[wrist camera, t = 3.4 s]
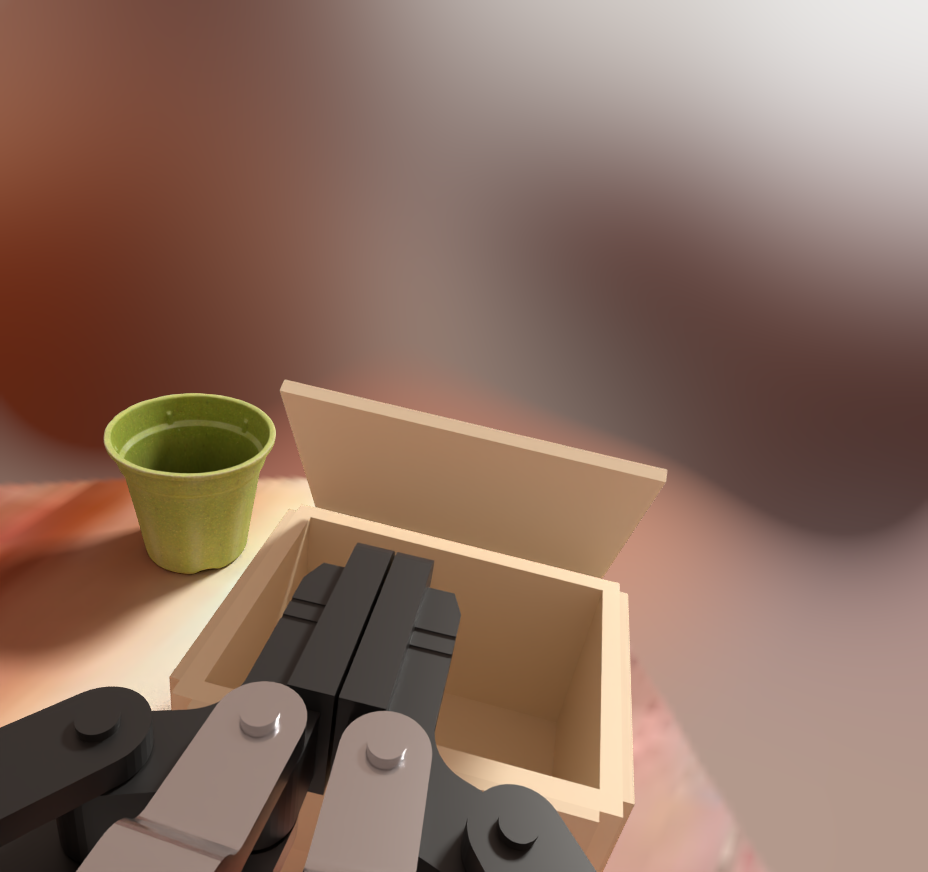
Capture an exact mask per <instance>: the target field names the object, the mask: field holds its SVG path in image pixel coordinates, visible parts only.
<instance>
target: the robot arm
mask: <svg viewBox="0 0 928 872" xmlns="http://www.w3.org/2000/svg"><path fill="white" fill-rule="evenodd" d="M433 568H434V560H430V559H426V558H422V557H417V556H413V555H409V554H405V553H400V552H397V553H396V555H395V551H392V550H388V549H384V548H380V547H375V546H371V545H367V544H362V543H357V544H356V546H355V547H354V549H353V551H352V553H351V555H350V557H349V560H348V562H347V564H346V566H345V567H341V566H337V565H332V564H328V563H322V564H321V565H320V566H318V567H317V568H315V569H314V570H313V571H311V572H310V573H309V574H307V575H306V576H304V577H303V579H302V581H301V582H300V584H299V586H298V588H297V589H296V591H295V593H294V595H293V597H292V600H291V601H290V602H289V604H288V605H287V607H286V609H285V611H284V612H283V616H282V618H280V620H279V621H278V623H277V625H276V627H275V628H274V630H273V632H272V634H271V636H270V637H269V639H268V641H267V643H266V644H265V646H264V648H263V650H262V651H261V653H260V655H259V657H258V659H257V660H256V662H255V664H254V666H253V667H252V669H251V671H250V673H249V674H248V676H247V678H246V679H245V681H244V682H243V684H242V685H241V686H240V687H238V688H236V689H234V690H232V691H231V692H229V693H228V694H227V695H225V696H224V697H223V698H222V699H221V700H220V701H219V702H217V703H215V704H212V705H209V706H206V707H201V708H197V709H188V710H165V711H151V708H150V706H149V703H148V702H147V701H146V699H145V698H144V697H143V696H142V695H140V694H139V693H137V692H135V691H133V690H131V689H127V688H123V687H101V688H96V689H92V690H89V691H86V692H83V693H80V694H78V695H76V696H73V697H71V698H69V699H66V700H64V701H62V702H59V703H57V704H55V705H52V706H50V707H48V708H45V709H43V710H41V711H38V712H36V713H34V714H31V715H29V716H27V717H24V718H22V719H20V720H17V721H15V722H13V723H10V724H8V725H6V726H3V727H1V728H0V872H280V871H281V869H282V867H283V865H284V863H285V861H286V859H287V856H288V854H289V852H290V850H291V848H292V846H293V844H294V841H295V838H296V835H297V829H298V818H299V812H300V809H301V807H302V804H303V802H304V799H305V797H306V794H307V792H311V793H315V794H319V795H324V792H325V789H326V787H327V789H326V792H325V796H324V799H323V803H322V807H321V810H320V814H319V817H318V821H317V825H316V828H315V832H314V835H313V839H312V843H311V846H310V850H309V853H308V857H307V860H306V864H305V867H304V869H303V872H597V871H596V870H595V868H594V867H593V865H592V864H591V862H590V861H589V859H588V858H587V856H586V855H585V853H584V852H583V850H582V849H581V847H580V846H579V844H578V843H577V841H576V839H575V838H574V836H573V835H572V833H571V832H570V830H569V829H568V827H567V826H566V824H565V823H564V821H563V820H562V818H561V817H560V815H559V814H558V812H557V811H556V809H555V808H554V807H553V805H552V804H551V803H550V802H549V801H548V800H547V799H546V798H544V797H543V796H542V795H540V794H539V793H537V792H535V791H534V790H532V789H530V788H527V787H524V786H520V785H515V784H503V785H497V786H494V787H491V788H489V789H487V790H485V791H484V792H483V791H481V790H479V789H478V788H476V787H474V786H473V785H471V784H470V783H468V782H466V781H465V780H463V779H462V778H460V777H459V776H457V775H456V774H455V773H454V772H453V771H452V770H451V769H450V768H449V767H448V766H447V765H446V763H445V762H444V761H443V759H442V757H441V756H440V754H439V751H438V749H437V746H436V742H435V729H436V725H437V721H438V716H439V712H440V708H441V703H442V699H443V695H444V690H445V686H446V682H447V678H448V673H449V669H450V664H451V659H452V655H453V650H454V646H455V641H456V636H457V632H458V627H459V623H460V618H461V613H460V610H459V606H458V603H457V600H456V596H455V594H454V593H450V592H446V591H442V590H437V589H433V588H430V584H431V579H432V574H433ZM327 784H328V785H327Z"/></svg>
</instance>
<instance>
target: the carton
mask: <svg viewBox="0 0 928 872" xmlns="http://www.w3.org/2000/svg"><path fill="white" fill-rule="evenodd" d="M357 543H362V544H367V545H371V546H375V547H380V548H384V549H388V550H392V551H395V555H396V553H397V552H400V553H405V554H409V555H413V556H417V557H422V558H426V559H430V560H434V568H433V574H432V579H431V584H430V588H433V589H437V590H442V591H446V592H450V593H454V594H455V596H456V600H457V603H458V606H459V610H460V613H461V618H460V623H459V627H458V632H457V636H456V641H455V646H454V650H453V655H452V659H451V664H450V669H449V673H448V678H447V682H446V686H445V690H444V695H443V699H442V703H441V708H440V712H439V716H438V721H437V725H436V729H435V742H436V746H437V749H438V751H439V754H440V756H441V757H442V759H443V761H444V762H445V763H446V765H447V766H448V767H449V768H450V769H451V770H452V771H453V772H454V773H455V774H456V775H457V776H459V777H460V778H462V779H463V780H465V781H466V782H468V783H470V784H471V785H473V786H474V787H476V788H478V789H479V790H481V791H483V792H484V791H485V790H487V789H489V788H491V787H494V786H497V785H503V784H515V785H520V786H524V787H527V788H530V789H532V790H534V791H535V792H537V793H539V794H540V795H542V796H543V797H544V798H546V799H547V800H548V801H549V802H550V803H551V804H552V805H553V807H554V808H555V809H556V811H557V812H558V814H559V815H560V817H561V818H562V820H563V821H564V823H565V824H566V826H567V827H568V829H569V830H570V832H571V833H572V835H573V836H574V838H575V839H576V841H577V843H578V844H579V846H580V847H581V849H582V850H583V852H584V853H585V855H586V856H587V858H588V859H589V861H590V862H591V864H592V865H593V867H594V868H595V870H596V871H597V872H603V870H604V868H605V866H606V864H607V861H608V859H609V857H610V855H611V853H612V851H613V849H614V847H615V845H616V842H617V840H618V838H619V836H620V834H621V832H622V830H623V828H624V826H625V823H626V821H627V819H628V817H629V815H630V813H631V811H632V809H633V807H634V805H635V803H634V771H633V739H632V707H631V675H630V643H629V612H628V594H626V593H622V592H620V588H619V583H615V582H611V581H607V580H603V579H599V578H595V577H591V576H587V575H583V574H579V573H575V572H571V571H567V570H563V569H559V568H555V567H551V566H547V565H543V564H539V563H535V562H531V561H527V560H523V559H519V558H515V557H511V556H507V555H503V554H499V553H495V552H491V551H487V550H483V549H479V548H475V547H471V546H467V545H463V544H459V543H455V542H451V541H447V540H443V539H439V538H435V537H431V536H427V535H423V534H419V533H415V532H411V531H407V530H403V529H399V528H395V527H391V526H387V525H383V524H379V523H375V522H371V521H367V520H363V519H359V518H355V517H351V516H347V515H343V514H339V513H335V512H331V511H327V510H323V509H319V508H315V507H311V506H307V505H303V504H301V505H300V507H299V508H298V510H297V511H296V510H292V509H288V511H287V512H286V514H285V515H284V516H283V518H282V519H281V521H280V522H279V524H278V525H277V526H276V528H275V529H274V531H273V532H272V533H271V535H270V536H269V538H268V539H267V540H266V542H265V543H264V545H263V546H262V547H261V549H260V550H259V552H258V553H257V555H256V556H255V557H254V559H253V560H252V562H251V563H250V564H249V566H248V567H247V569H246V570H245V571H244V573H243V574H242V576H241V577H240V578H239V580H238V581H237V583H236V584H235V586H234V587H233V588H232V590H231V591H230V593H229V594H228V595H227V597H226V598H225V600H224V601H223V602H222V604H221V605H220V607H219V608H218V609H217V611H216V612H215V614H214V615H213V617H212V618H211V619H210V621H209V622H208V624H207V625H206V626H205V628H204V629H203V631H202V632H201V633H200V635H199V636H198V638H197V639H196V640H195V642H194V643H193V645H192V646H191V647H190V649H189V650H188V652H187V653H186V655H185V656H184V657H183V659H182V660H181V662H180V663H179V664H178V666H177V667H176V669H175V670H174V671H173V673H172V674H171V676H170V692H171V708H172V710H188V709H197V708H201V707H206V706H209V705H212V704H215V703H217V702H219V701H220V700H221V699H222V698H223V697H224V696H225V695H227V694H228V693H229V692H231V691H232V690H234V689H236V688H238V687H240V686H241V685H242V684H243V682H244V681H245V679H246V678H247V676H248V674H249V673H250V671H251V669H252V667H253V666H254V664H255V662H256V660H257V659H258V657H259V655H260V653H261V651H262V650H263V648H264V646H265V644H266V643H267V641H268V639H269V637H270V636H271V634H272V632H273V630H274V628H275V627H276V625H277V623H278V621H279V620H280V618H282V616H283V612H284V611H285V609H286V607H287V605H288V604H289V602H290V601H291V600H292V597H293V595H294V593H295V591H296V589H297V588H298V586H299V584H300V582H301V581H302V579H303V577H304V576H306V575H307V574H309V573H310V572H311V571H313V570H314V569H315V568H317V567H318V566H320V565H321V564H322V563H328V564H332V565H337V566H341V567H345V566H346V564H347V562H348V560H349V557H350V555H351V553H352V551H353V549H354V547H355V546H356V544H357ZM327 785H328V784H327ZM326 789H327V787H326ZM326 789H325V792H326ZM325 792H324V795H319V794H315V793H311V792H307V794H306V797H305V799H304V802H303V804H302V807H301V809H300V812H299V818H298V829H297V835H296V838H295V841H294V844H293V846H292V848H291V850H290V852H289V854H288V856H287V859H286V861H285V863H284V865H283V867H282V869H281V871H280V872H303V869H304V867H305V864H306V860H307V857H308V853H309V850H310V846H311V843H312V839H313V835H314V832H315V828H316V825H317V821H318V817H319V814H320V810H321V807H322V803H323V799H324V796H325Z"/></svg>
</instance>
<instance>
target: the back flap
mask: <svg viewBox="0 0 928 872" xmlns="http://www.w3.org/2000/svg"><path fill="white" fill-rule="evenodd" d="M280 393H281V396H282V400H283V403H284V406H285V409H286V413H287V416H288V418H289V422H290V425H291V428H292V432H293V435H294V438H295V441H296V445H297V448H298V451H299V455H300V458H301V461H302V464H303V468H304V471H305V474H306V477H307V480H308V484H309V487H310V490H311V493H312V497H313V500H314V503H315V506H316V507H317V508H321V509H325V510H329V511H333V512H337V513H341V514H345V515H349V516H353V517H357V518H361V519H365V520H369V521H373V522H377V523H381V524H385V525H389V526H393V527H397V528H401V529H405V530H409V531H413V532H417V533H421V534H425V535H429V536H433V537H437V538H441V539H445V540H449V541H453V542H457V543H461V544H465V545H469V546H473V547H477V548H481V549H485V550H489V551H493V552H497V553H501V554H505V555H509V556H513V557H517V558H521V559H525V560H529V561H533V562H537V563H541V564H545V565H549V566H553V567H557V568H561V569H566V570H570V571H574V572H578V573H582V574H586V575H590V576H594V577H598V578H603V577H604V575H605V574H606V572H607V571H608V569H609V568H610V566H611V565H612V563H613V561H614V560H615V558H616V557H617V555H618V553H619V552H620V551H621V549H622V548H623V546H624V545H625V543H626V542H627V540H628V539H629V537H630V536H631V534H632V533H633V531H634V530H635V528H636V527H637V525H638V524H639V522H640V521H641V519H642V518H643V516H644V515H645V513H646V512H647V510H648V509H649V507H650V506H651V504H652V502H653V501H654V499H655V498H656V496H657V495H658V493H659V492H660V490H661V489H662V487H663V486H664V484H665V483H666V477H667V470H666V469H662V468H657V467H653V466H649V465H645V464H641V463H636V462H632V461H628V460H623V459H619V458H615V457H611V456H606V455H602V454H598V453H594V452H590V451H586V450H581V449H577V448H572V447H568V446H564V445H560V444H555V443H551V442H547V441H543V440H539V439H534V438H530V437H526V436H522V435H517V434H513V433H509V432H505V431H500V430H496V429H492V428H488V427H484V426H479V425H475V424H471V423H467V422H462V421H458V420H454V419H450V418H446V417H441V416H437V415H433V414H429V413H424V412H420V411H416V410H411V409H407V408H403V407H399V406H395V405H390V404H386V403H382V402H378V401H373V400H369V399H365V398H361V397H357V396H352V395H348V394H344V393H340V392H335V391H331V390H327V389H323V388H318V387H314V386H310V385H305V384H301V383H297V382H293V381H289V380H284V382H283V384H282V387H281V389H280Z"/></svg>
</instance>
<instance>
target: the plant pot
mask: <svg viewBox="0 0 928 872" xmlns="http://www.w3.org/2000/svg"><path fill="white" fill-rule="evenodd" d="M275 435H276V432H275V427H274V424H273V422H272V421H271V419H270V418H269V417H268V416H267V415H266V414H265V413H264V412H263V411H261V410H260V409H258V408H257V407H255V406H253V405H251V404H249V403H247V402H244V401H241V400H238V399H234V398H231V397H225V396H220V395H211V394H198V393H196V394H195V393H194V394H175V395H168V396H162V397H158V398H155V399H150V400H146V401H143V402H140V403H137V404H135V405H133V406H131V407H129V408H127V409H126V410H124V411H122V412H120V413H119V414H118V415H117V416H115V417H114V419H113V420H112V421H111V422H110V423H109V424H108V426H107V427H106V429H105V434H104V444H105V448H106V450H107V452H108V454H109V455H110V457H111V458H112V459H113V460H114V461H115V462H116V463H117V464H118V467H119V469H120V471H121V473H122V474H123V475H124V476H125V478H126V482H127V485H128V488H129V492H130V495H131V498H132V501H133V505H134V508H135V511H136V515H137V518H138V522H139V525H140V529H141V533H142V536H143V540H144V543H145V547H146V550H147V552H148V555H149V556H150V558H151V559H152V560H153V562H155V563H156V564H157V565H159V566H160V567H162V568H164V569H167V570H170V571H173V572H177V573H185V574H194V573H196V572H198V571H201V570H205V569H210V568H222V567H224V566H226V565H228V564H229V563H231V562H233V561H234V560H235V559H236V558H237V557H238V556H239V555H240V554H241V553H242V551H243V550H244V548H245V546H246V543H247V536H248V531H249V526H250V520H251V515H252V509H253V504H254V499H255V493H256V488H257V483H258V478H259V473H260V470H261V468H262V467H263V465H264V462H265V459H266V456H267V455H268V454H269V452H270V451H271V449H272V447H273V445H274V442H275Z"/></svg>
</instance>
